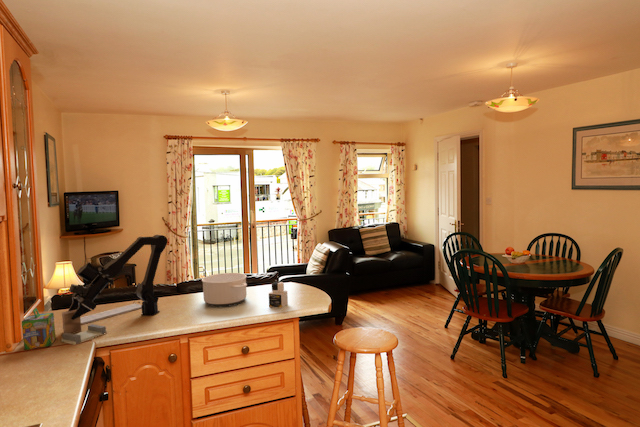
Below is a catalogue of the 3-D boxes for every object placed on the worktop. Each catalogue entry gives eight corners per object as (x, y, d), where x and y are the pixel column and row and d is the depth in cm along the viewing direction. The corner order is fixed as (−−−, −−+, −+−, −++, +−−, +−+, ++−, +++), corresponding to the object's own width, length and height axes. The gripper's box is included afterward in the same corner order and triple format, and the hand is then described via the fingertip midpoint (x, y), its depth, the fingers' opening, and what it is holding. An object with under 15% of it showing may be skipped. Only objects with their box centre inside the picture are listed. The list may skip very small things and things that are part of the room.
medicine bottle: (269, 307, 205) (267, 283, 204) (275, 303, 211) (274, 280, 211) (281, 308, 202) (280, 284, 201) (288, 304, 209) (287, 281, 208)
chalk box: (50, 346, 162) (47, 310, 161) (23, 350, 159) (20, 313, 158) (56, 338, 170) (54, 304, 169) (30, 342, 167) (27, 307, 166)
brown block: (79, 329, 182) (77, 309, 181) (81, 331, 179) (79, 311, 178) (63, 332, 178) (61, 312, 177) (65, 334, 175) (63, 314, 174)
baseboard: (70, 321, 195) (81, 326, 188) (70, 315, 195) (81, 320, 187) (132, 305, 220) (145, 308, 212) (132, 300, 219) (144, 303, 212)
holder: (93, 330, 179) (93, 323, 179) (107, 333, 175) (106, 326, 175) (61, 341, 167) (60, 334, 166) (74, 344, 163) (74, 337, 162)
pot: (262, 302, 213) (261, 277, 213) (225, 314, 196) (223, 286, 195) (226, 293, 236) (224, 269, 235) (189, 302, 219) (187, 277, 218)
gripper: (76, 274, 187) (49, 302, 180) (85, 280, 173) (57, 311, 166) (96, 287, 193) (71, 316, 186) (107, 294, 179) (80, 325, 172)
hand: (69, 317), depth 177 cm, fingers open, 9 cm apart
